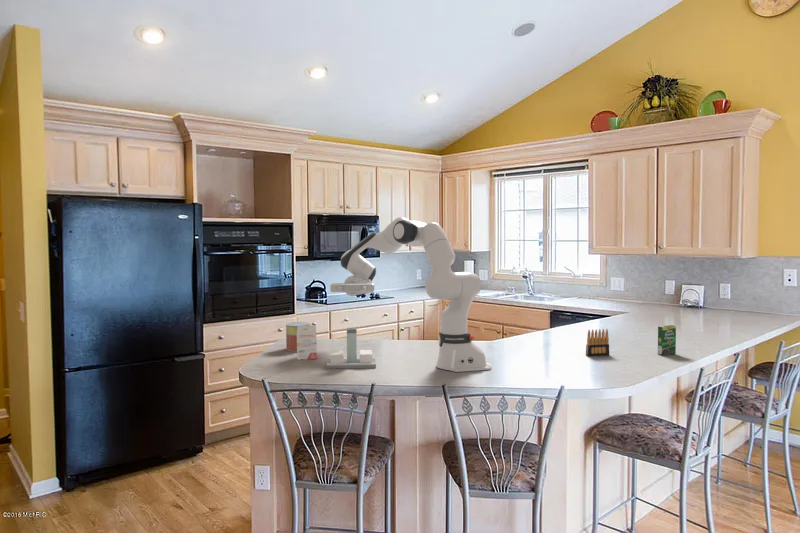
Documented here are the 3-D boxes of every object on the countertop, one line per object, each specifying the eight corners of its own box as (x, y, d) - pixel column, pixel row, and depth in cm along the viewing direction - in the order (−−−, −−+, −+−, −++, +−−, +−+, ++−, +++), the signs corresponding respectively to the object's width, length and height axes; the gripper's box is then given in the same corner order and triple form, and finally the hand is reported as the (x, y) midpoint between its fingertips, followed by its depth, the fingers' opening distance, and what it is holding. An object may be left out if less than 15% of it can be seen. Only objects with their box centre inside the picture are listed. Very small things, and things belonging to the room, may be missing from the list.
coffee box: (661, 355, 256) (662, 326, 255) (656, 354, 259) (657, 325, 258) (676, 354, 258) (676, 325, 258) (671, 353, 261) (672, 324, 260)
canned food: (312, 346, 276) (312, 322, 275) (306, 351, 265) (306, 326, 264) (290, 346, 277) (289, 322, 277) (283, 351, 266) (282, 325, 265)
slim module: (356, 360, 241) (356, 327, 241) (356, 362, 237) (356, 329, 237) (347, 360, 241) (347, 327, 240) (346, 362, 237) (346, 329, 236)
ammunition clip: (587, 356, 255) (588, 329, 254) (585, 355, 256) (586, 329, 256) (609, 355, 257) (610, 329, 256) (607, 354, 259) (607, 328, 258)
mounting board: (375, 361, 245) (375, 349, 245) (375, 367, 234) (375, 355, 233) (328, 361, 244) (328, 349, 244) (326, 368, 232) (326, 356, 232)
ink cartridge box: (316, 356, 255) (316, 323, 254) (316, 359, 250) (316, 325, 249) (296, 357, 253) (296, 324, 252) (297, 359, 248) (296, 326, 247)
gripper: (330, 279, 269) (328, 282, 255) (374, 279, 270) (374, 282, 256) (330, 293, 269) (328, 296, 256) (374, 292, 271) (374, 296, 257)
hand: (352, 289), depth 256 cm, fingers open, 8 cm apart
